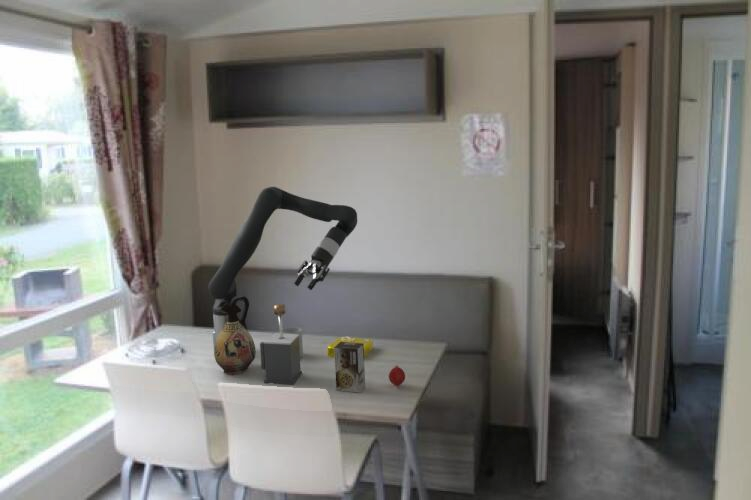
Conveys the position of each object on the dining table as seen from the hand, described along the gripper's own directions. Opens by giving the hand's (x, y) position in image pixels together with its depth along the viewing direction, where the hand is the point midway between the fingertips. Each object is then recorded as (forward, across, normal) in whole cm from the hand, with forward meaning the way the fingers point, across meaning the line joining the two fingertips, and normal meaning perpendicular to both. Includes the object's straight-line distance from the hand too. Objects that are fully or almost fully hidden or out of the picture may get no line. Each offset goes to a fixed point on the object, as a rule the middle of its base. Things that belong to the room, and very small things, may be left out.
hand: (302, 286), depth 244 cm
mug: (+20, -19, +27) cm, 39 cm away
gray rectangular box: (+31, -1, +16) cm, 35 cm away
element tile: (+6, -4, +42) cm, 42 cm away
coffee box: (+23, +25, +24) cm, 42 cm away
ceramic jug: (+36, -19, +11) cm, 42 cm away
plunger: (+24, 0, +10) cm, 26 cm away
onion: (+14, +36, +33) cm, 51 cm away
